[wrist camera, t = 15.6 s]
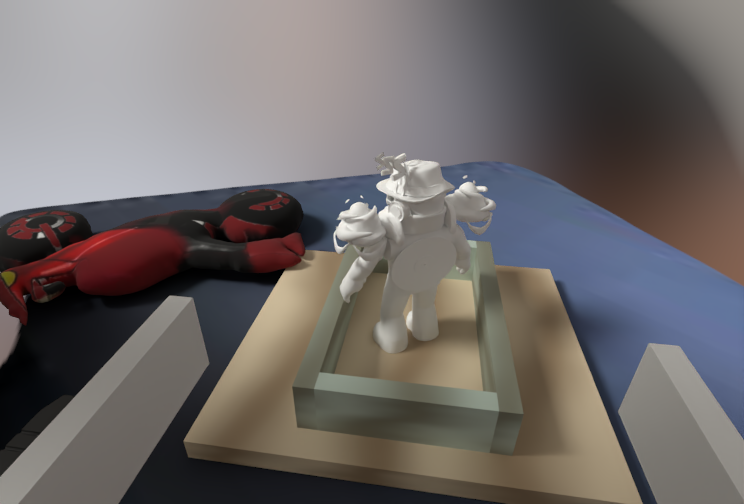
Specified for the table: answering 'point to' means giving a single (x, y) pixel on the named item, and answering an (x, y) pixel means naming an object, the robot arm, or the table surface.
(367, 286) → the jig board
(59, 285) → the toy motorcycle
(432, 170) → the hat wearing toy figure
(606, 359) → the table surface
